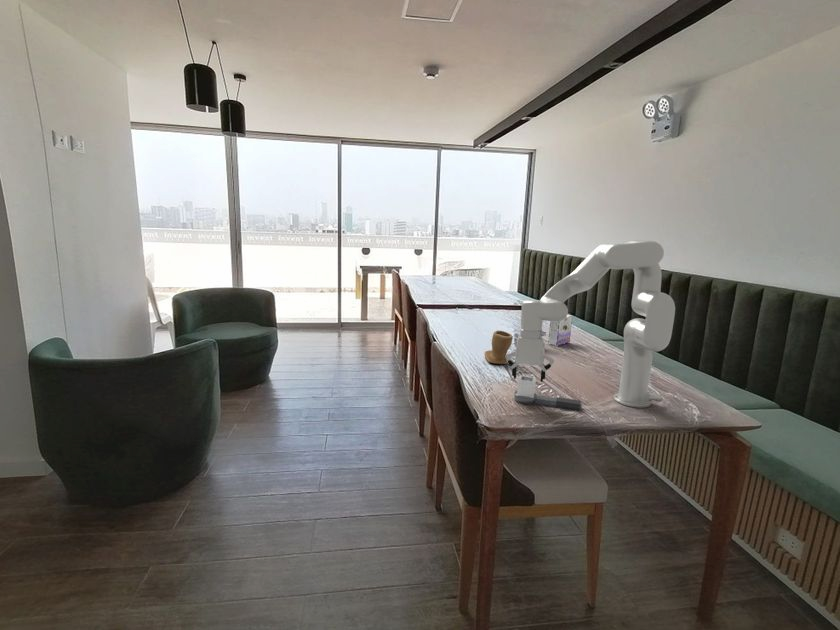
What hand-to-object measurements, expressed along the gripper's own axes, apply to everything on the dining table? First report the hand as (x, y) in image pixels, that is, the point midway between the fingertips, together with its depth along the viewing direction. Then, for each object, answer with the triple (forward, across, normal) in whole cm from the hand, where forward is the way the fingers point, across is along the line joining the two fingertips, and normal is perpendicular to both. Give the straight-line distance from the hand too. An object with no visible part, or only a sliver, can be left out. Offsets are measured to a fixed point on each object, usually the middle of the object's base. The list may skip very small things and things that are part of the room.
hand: (528, 379), depth 155 cm
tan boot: (+8, +18, -47) cm, 51 cm away
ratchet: (+8, -7, 0) cm, 11 cm away
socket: (+6, +1, 0) cm, 6 cm away
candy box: (+10, -10, -97) cm, 98 cm away
